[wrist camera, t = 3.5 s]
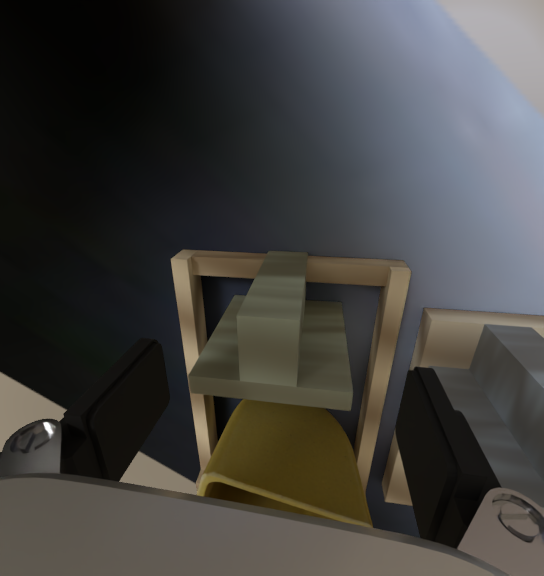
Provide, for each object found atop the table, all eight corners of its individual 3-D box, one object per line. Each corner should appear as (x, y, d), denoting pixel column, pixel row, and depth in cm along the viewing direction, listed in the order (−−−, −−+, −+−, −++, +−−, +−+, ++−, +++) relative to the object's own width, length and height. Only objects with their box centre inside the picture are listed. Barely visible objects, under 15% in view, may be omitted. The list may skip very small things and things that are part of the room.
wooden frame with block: (182, 246, 20) (102, 305, 12) (403, 256, 18) (459, 332, 11) (209, 459, 28) (170, 566, 21) (360, 480, 26) (375, 605, 19)
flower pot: (244, 357, 23) (201, 474, 15) (357, 393, 23) (377, 531, 14) (221, 434, 27) (177, 560, 18) (318, 465, 26) (316, 606, 18)
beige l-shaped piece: (424, 307, 19) (508, 440, 10) (568, 317, 18) (791, 473, 9) (381, 483, 26) (411, 647, 18) (483, 497, 25) (566, 678, 17)
